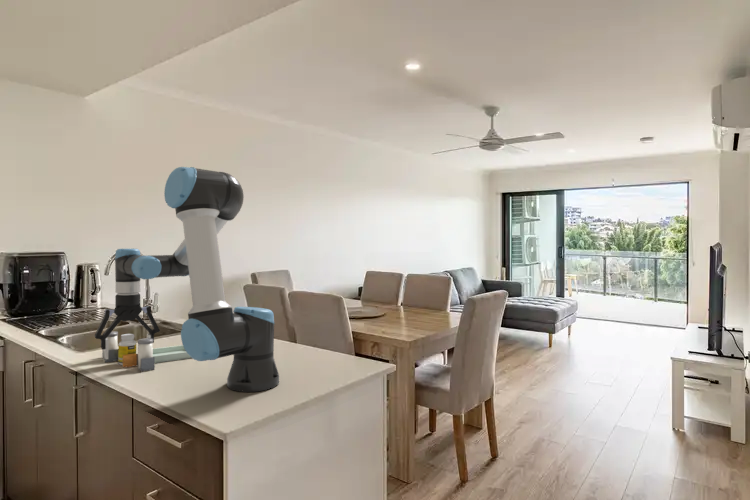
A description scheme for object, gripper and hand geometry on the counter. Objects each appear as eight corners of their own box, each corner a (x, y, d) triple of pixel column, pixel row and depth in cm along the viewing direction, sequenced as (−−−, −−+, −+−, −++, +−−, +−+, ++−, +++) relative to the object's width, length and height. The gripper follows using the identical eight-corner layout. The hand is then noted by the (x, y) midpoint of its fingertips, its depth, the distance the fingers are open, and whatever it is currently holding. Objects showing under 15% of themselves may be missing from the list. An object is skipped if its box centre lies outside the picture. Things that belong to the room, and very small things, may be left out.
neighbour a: (154, 368, 151) (154, 340, 151) (139, 370, 148) (139, 341, 148) (151, 365, 155) (151, 337, 155) (136, 367, 152) (136, 339, 152)
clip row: (154, 369, 150) (154, 357, 150) (112, 375, 142) (112, 362, 142) (139, 352, 170) (139, 342, 170) (102, 357, 163) (102, 346, 163)
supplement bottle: (128, 366, 153) (128, 337, 153) (114, 364, 154) (114, 336, 154) (139, 361, 158) (139, 333, 158) (126, 360, 160) (126, 332, 159)
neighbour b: (118, 359, 161) (118, 333, 160) (103, 361, 158) (103, 334, 158) (116, 356, 164) (116, 330, 164) (102, 358, 162) (102, 332, 161)
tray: (197, 357, 166) (197, 350, 166) (149, 363, 156) (149, 356, 156) (188, 350, 175) (188, 344, 175) (142, 356, 166) (142, 349, 166)
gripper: (163, 290, 166) (163, 348, 167) (84, 294, 151) (85, 358, 152) (168, 292, 160) (168, 352, 161) (87, 297, 145) (87, 363, 146)
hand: (128, 355), depth 157 cm, fingers open, 12 cm apart
